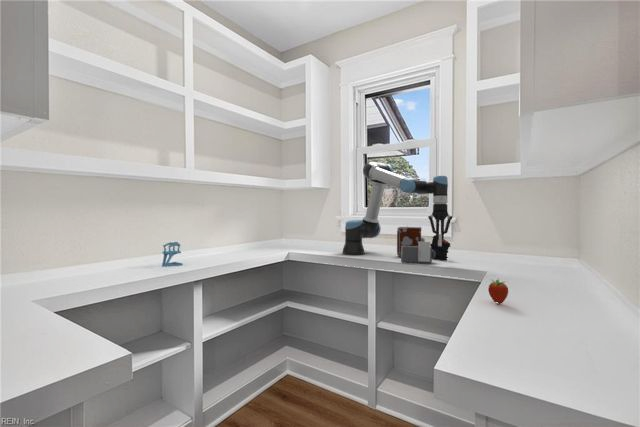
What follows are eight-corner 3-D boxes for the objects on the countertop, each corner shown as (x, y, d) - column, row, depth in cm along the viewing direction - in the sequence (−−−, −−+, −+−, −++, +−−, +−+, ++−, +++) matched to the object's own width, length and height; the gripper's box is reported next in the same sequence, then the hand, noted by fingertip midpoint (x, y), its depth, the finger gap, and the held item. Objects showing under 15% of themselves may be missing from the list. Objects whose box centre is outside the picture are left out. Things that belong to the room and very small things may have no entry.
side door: (418, 261, 174) (418, 241, 174) (418, 261, 176) (418, 241, 176) (430, 262, 173) (430, 241, 173) (429, 261, 175) (430, 241, 175)
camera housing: (402, 263, 176) (402, 245, 176) (400, 260, 187) (401, 244, 187) (436, 264, 173) (436, 246, 173) (433, 261, 183) (433, 245, 183)
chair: (159, 265, 159) (159, 242, 159) (175, 263, 166) (175, 241, 166) (167, 267, 154) (167, 243, 154) (183, 265, 161) (183, 242, 161)
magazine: (429, 255, 201) (437, 234, 196) (444, 266, 191) (453, 245, 185) (425, 255, 199) (433, 234, 194) (440, 267, 189) (449, 245, 183)
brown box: (429, 258, 198) (430, 226, 198) (399, 257, 199) (399, 226, 199) (425, 256, 208) (425, 226, 208) (396, 255, 208) (396, 226, 208)
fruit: (487, 304, 96) (488, 278, 96) (488, 300, 100) (488, 275, 100) (508, 307, 93) (508, 280, 93) (508, 303, 97) (508, 277, 97)
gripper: (429, 203, 171) (428, 246, 171) (454, 203, 169) (453, 246, 169) (426, 203, 178) (426, 244, 178) (450, 204, 176) (450, 245, 176)
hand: (439, 245), depth 173 cm, fingers closed
